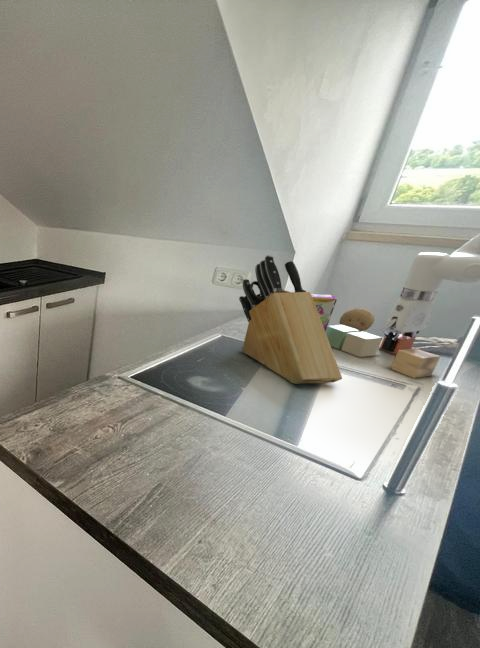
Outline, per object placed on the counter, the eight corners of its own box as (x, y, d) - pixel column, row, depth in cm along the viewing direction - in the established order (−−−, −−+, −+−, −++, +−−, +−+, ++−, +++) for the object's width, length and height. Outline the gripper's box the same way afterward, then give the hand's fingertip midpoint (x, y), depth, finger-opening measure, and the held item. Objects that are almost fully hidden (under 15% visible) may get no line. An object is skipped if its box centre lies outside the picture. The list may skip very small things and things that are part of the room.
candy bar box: (283, 342, 134) (296, 296, 128) (279, 337, 139) (292, 292, 132) (322, 345, 131) (338, 298, 124) (316, 340, 135) (331, 294, 129)
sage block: (336, 340, 134) (342, 324, 132) (353, 347, 129) (359, 330, 126) (321, 342, 133) (326, 325, 131) (338, 348, 128) (344, 331, 126)
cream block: (356, 348, 128) (362, 331, 126) (375, 355, 123) (382, 337, 120) (341, 350, 127) (347, 332, 125) (359, 357, 122) (366, 339, 119)
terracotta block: (392, 347, 128) (398, 333, 126) (409, 353, 123) (415, 338, 121) (379, 348, 127) (385, 334, 125) (396, 354, 123) (402, 339, 121)
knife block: (256, 341, 136) (280, 251, 124) (340, 388, 104) (383, 272, 91) (224, 342, 136) (245, 252, 123) (298, 389, 104) (336, 274, 91)
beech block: (407, 367, 114) (415, 348, 112) (431, 375, 109) (440, 356, 107) (390, 369, 114) (398, 350, 111) (413, 377, 108) (422, 358, 106)
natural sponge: (360, 341, 133) (371, 313, 129) (330, 334, 140) (339, 307, 136) (372, 336, 137) (382, 309, 133) (341, 329, 145) (350, 303, 140)
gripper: (408, 299, 113) (384, 356, 120) (455, 295, 116) (429, 351, 123) (381, 293, 120) (360, 347, 127) (426, 289, 122) (403, 343, 130)
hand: (394, 349), depth 125 cm, fingers closed on terracotta block, 5 cm apart
